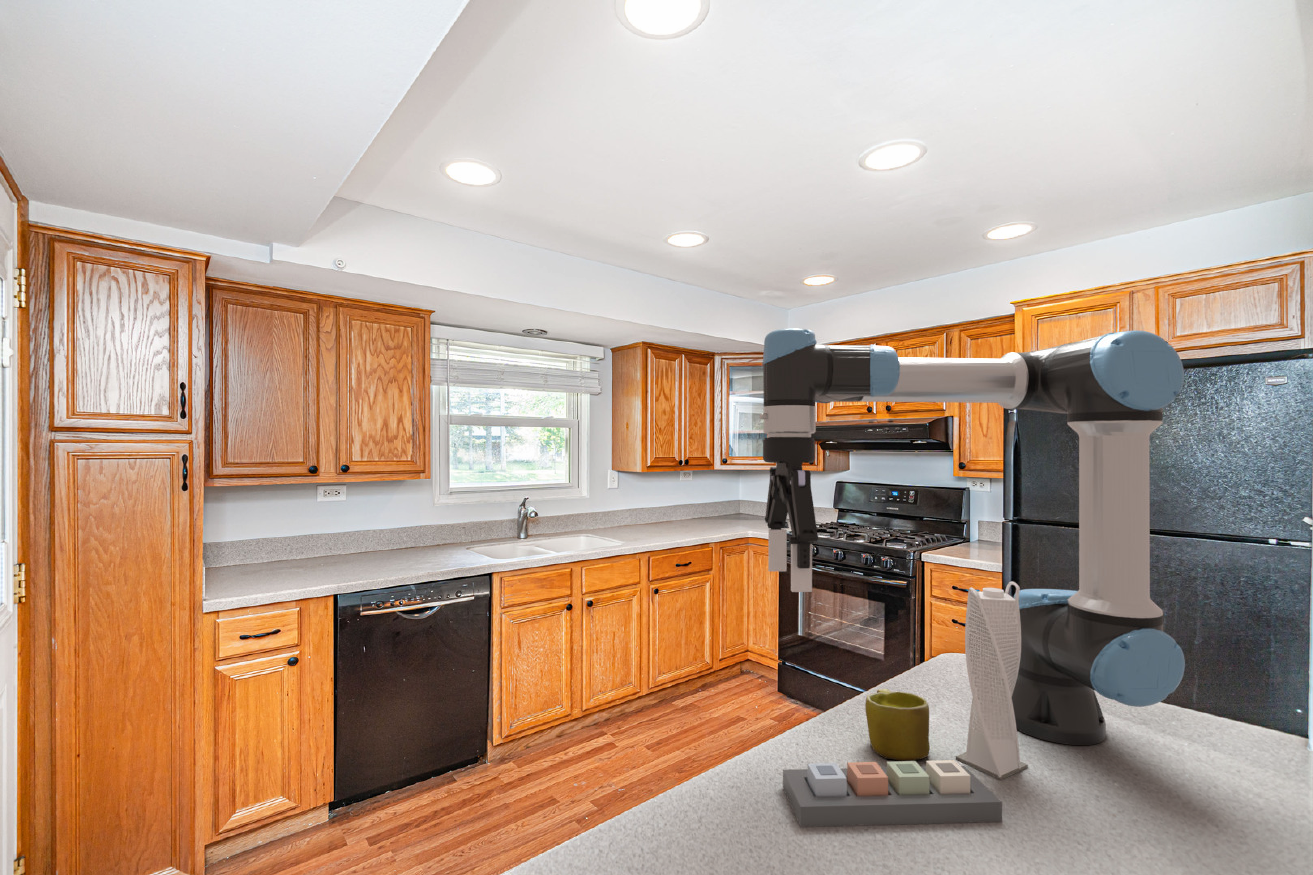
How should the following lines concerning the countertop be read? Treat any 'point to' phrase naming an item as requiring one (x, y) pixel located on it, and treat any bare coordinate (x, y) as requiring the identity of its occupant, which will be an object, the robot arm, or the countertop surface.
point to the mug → (898, 725)
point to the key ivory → (948, 777)
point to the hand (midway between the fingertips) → (788, 580)
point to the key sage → (907, 778)
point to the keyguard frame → (889, 805)
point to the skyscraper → (993, 680)
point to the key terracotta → (867, 779)
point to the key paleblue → (826, 780)
